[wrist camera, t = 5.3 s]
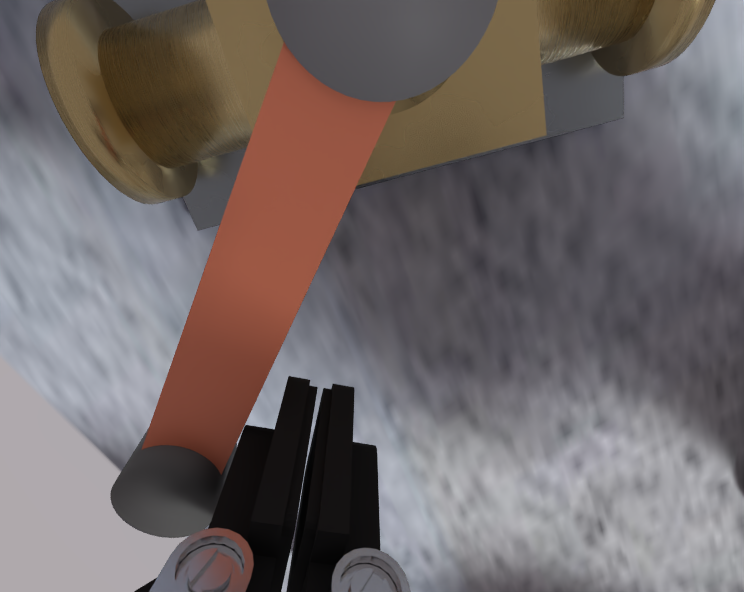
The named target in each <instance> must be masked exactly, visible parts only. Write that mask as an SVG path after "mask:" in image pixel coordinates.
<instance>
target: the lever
mask: <svg viewBox="0 0 744 592" xmlns="http://www.w3.org/2000/svg"><path fill="white" fill-rule="evenodd" d="M497 1H498V0H267V3H268V7H269V10H270V13H271V16H272V18H273V20H274V23H275V25H276V27H277V30H278V32H279V34H280V35H281V37H282V39H283V40H284V43H283V46H282V49H281V52H280V55H279V58H278V61H277V63H276V66H275V69H274V72H273V75H272V78H271V81H270V83H269V86H268V89H267V92H266V95H265V98H264V101H263V103H262V106H261V109H260V112H259V115H258V118H257V121H256V123H255V126H254V129H253V132H252V135H251V138H250V141H249V143H248V146H247V149H246V152H245V155H244V158H243V161H242V163H241V166H240V169H239V172H238V175H237V178H236V181H235V183H234V186H233V189H232V192H231V195H230V198H229V201H228V203H227V206H226V209H225V212H224V215H223V218H222V221H221V224H220V226H219V229H218V232H217V235H216V238H215V241H214V244H213V246H212V249H211V252H210V255H209V258H208V261H207V264H206V266H205V269H204V272H203V275H202V278H201V281H200V284H199V286H198V289H197V292H196V295H195V298H194V301H193V304H192V306H191V309H190V312H189V315H188V318H187V321H186V324H185V326H184V329H183V332H182V335H181V338H180V341H179V344H178V346H177V349H176V352H175V355H174V358H173V361H172V364H171V366H170V369H169V372H168V375H167V378H166V381H165V384H164V386H163V389H162V392H161V395H160V398H159V401H158V404H157V407H156V409H155V412H154V415H153V418H152V421H151V424H150V427H149V428H148V430H147V432H146V433H145V435H144V436H143V438H142V440H141V441H140V443H139V444H138V446H137V448H136V449H135V451H134V452H133V454H132V456H131V457H130V459H129V461H128V462H127V464H126V465H125V467H124V469H123V470H122V472H121V473H120V475H119V477H118V478H117V480H116V482H115V484H114V485H113V487H112V490H111V502H112V505H113V508H114V509H115V511H116V513H117V514H118V515H119V516H120V517H121V518H122V519H123V520H124V521H125V522H126V523H128V524H129V525H130V526H132V527H134V528H135V529H137V530H139V531H142V532H144V533H147V534H150V535H155V536H159V537H169V538H176V537H177V538H178V537H185V536H190V535H192V534H194V533H197V532H199V531H201V530H203V529H205V528H206V527H207V526H208V525H209V524H210V523H211V520H212V517H213V514H214V511H215V508H216V506H217V503H218V500H219V497H220V494H221V491H222V489H223V486H224V483H225V480H226V477H227V474H228V472H229V469H230V466H231V463H232V460H233V458H234V455H235V452H236V449H237V443H236V442H237V440H238V438H239V436H240V434H241V432H242V429H243V427H244V425H245V423H246V421H247V419H248V417H249V414H250V412H251V410H252V408H253V406H254V404H255V402H256V400H257V397H258V395H259V393H260V391H261V389H262V387H263V385H264V382H265V380H266V378H267V376H268V374H269V372H270V370H271V367H272V365H273V363H274V361H275V359H276V357H277V355H278V352H279V350H280V348H281V346H282V344H283V342H284V340H285V337H286V335H287V333H288V331H289V329H290V327H291V325H292V323H293V320H294V318H295V316H296V314H297V312H298V310H299V308H300V305H301V303H302V301H303V299H304V297H305V295H306V293H307V290H308V288H309V286H310V284H311V282H312V280H313V278H314V275H315V273H316V271H317V269H318V267H319V265H320V263H321V260H322V258H323V256H324V254H325V252H326V250H327V248H328V246H329V243H330V241H331V239H332V237H333V235H334V233H335V231H336V228H337V226H338V224H339V222H340V220H341V218H342V216H343V213H344V211H345V209H346V207H347V205H348V203H349V201H350V198H351V196H352V194H353V192H354V190H355V188H356V186H357V183H358V181H359V179H360V177H361V175H362V173H363V171H364V169H365V166H366V164H367V162H368V160H369V158H370V156H371V154H372V151H373V149H374V147H375V145H376V143H377V141H378V139H379V136H380V134H381V132H382V130H383V128H384V126H385V124H386V121H387V119H388V117H389V115H390V113H391V111H392V109H393V107H394V104H395V102H396V101H398V100H404V99H408V98H411V97H414V96H418V95H420V94H422V93H424V92H426V91H429V90H431V89H432V88H434V87H436V86H437V85H439V84H440V83H442V82H444V81H445V80H446V79H447V78H448V77H450V76H451V75H452V74H453V73H455V72H456V71H457V70H458V69H459V68H460V67H461V66H462V64H463V63H464V62H465V61H466V60H467V59H468V58H469V56H470V55H471V54H472V52H473V51H474V50H475V48H476V47H477V46H478V44H479V42H480V40H481V39H482V37H483V35H484V34H485V32H486V30H487V28H488V25H489V23H490V21H491V19H492V16H493V14H494V11H495V8H496V5H497Z"/></svg>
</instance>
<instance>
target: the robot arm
mask: <svg viewBox="0 0 744 592" xmlns="http://www.w3.org/2000/svg"><path fill="white" fill-rule="evenodd" d="M309 384H310V380H308V379H302V378H296V377H291V376H289V377H288V381H287V385H286V388H285V392H284V396H283V400H282V404H281V407H280V411H279V415H278V419H277V423H276V426H275V430H274V429H268V428H262V427H256V426H249V425H246V426H245V427H244V430H243V432H242V435H241V438H240V441H239V443H238V446H237V449H236V452H235V455H234V458H233V460H232V463H231V466H230V469H229V472H228V474H227V477H226V480H225V483H224V486H223V489H222V491H221V494H220V497H219V500H218V503H217V506H216V508H215V511H214V514H213V517H212V520H211V523H210V525H209V528H208V529H204V530H201V531H199V532H197V533H194V534H192V535H190V536H189V537H187V538H186V539H185V540H184V541H183V542H181V543H180V544H179V545H178V546H177V547H176V549H175V550H174V551H173V552H172V554H171V555H170V557H169V559H168V560H167V562H166V564H165V565H164V567H163V569H162V570H161V572H160V574H159V576H158V577H157V578H156V579H154V580H153V581H151V582H149V583H148V584H146V585H144V586H143V587H141V588H139V589H138V590H136V591H135V592H281V589H282V585H283V580H284V576H285V571H286V567H287V562H288V558H289V553H290V549H291V544H292V540H293V535H294V530H295V525H296V520H297V514H298V508H299V502H300V508H299V514H298V521H297V527H296V534H295V540H294V547H293V553H292V560H291V566H290V573H289V579H288V586H287V592H411V591H410V587H409V583H408V581H407V578H406V575H405V573H404V571H403V570H402V568H401V567H400V566H399V564H398V563H397V562H396V561H395V560H394V559H393V558H392V557H390V556H389V555H388V554H386V553H384V552H382V551H380V526H379V495H378V465H377V448H376V446H375V445H368V444H362V443H356V442H353V417H354V387H349V386H343V385H337V384H333V385H332V389H326V388H324V389H323V393H322V397H321V402H320V406H319V411H318V415H317V420H316V424H315V429H314V433H313V438H312V443H311V447H310V452H309V456H308V461H307V465H306V470H305V464H306V457H307V451H308V445H309V438H310V432H311V426H312V419H313V413H314V407H315V400H316V394H317V387H314V386H309ZM304 470H305V476H304ZM303 476H304V482H303ZM302 483H303V489H302ZM301 489H302V495H301ZM300 495H301V501H300Z"/></svg>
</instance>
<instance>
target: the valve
mask: <svg viewBox="0 0 744 592" xmlns="http://www.w3.org/2000/svg"><path fill="white" fill-rule="evenodd" d="M714 2H715V0H498V1H497V5H496V8H495V11H494V14H493V16H492V19H491V21H490V23H489V25H488V28H487V30H486V32H485V34H484V35H483V37H482V39H481V40H480V42H479V44H478V46H477V47H476V48H475V50H474V51H473V52H472V54H471V55H470V56H469V58H468V59H467V60H466V61H465V62H464V63H463V64H462V66H461V67H460V68H459V69H458V70H457V71H456V72H455V73H453V74H452V75H451V76H450V77H448V78H447V79H446V80H445V81H444V82H442V83H440V84H439V85H437V86H436V87H434V88H432V89H431V90H429V91H426V92H424V93H422V94H420V95H418V96H414V97H411V98H408V99H404V100H398V101H396V102H395V104H394V107H393V109H392V111H391V113H390V115H389V117H388V119H387V121H386V124H385V126H384V128H383V130H382V132H381V134H380V136H379V139H378V141H377V143H376V145H375V147H374V149H373V151H372V154H371V156H370V158H369V160H368V162H367V164H366V166H365V169H364V171H363V173H362V175H361V177H360V179H359V181H358V183H357V186H356V188H355V189H357V188H361V187H365V186H368V185H372V184H376V183H380V182H383V181H387V180H391V179H395V178H399V177H402V176H406V175H410V174H414V173H418V172H421V171H425V170H429V169H433V168H436V167H440V166H444V165H448V164H452V163H455V162H459V161H463V160H467V159H471V158H474V157H478V156H482V155H486V154H489V153H493V152H497V151H501V150H505V149H508V148H512V147H516V146H520V145H524V144H527V143H531V142H535V141H539V140H542V139H546V138H550V137H554V136H558V135H561V134H565V133H569V132H573V131H576V130H580V129H584V128H588V127H592V126H595V125H599V124H603V123H607V122H611V121H614V120H618V119H622V118H624V96H623V76H627V75H631V74H635V73H638V72H642V71H646V70H649V69H653V68H657V67H660V66H663V65H665V64H668V63H669V62H671V61H672V60H674V59H676V58H677V57H678V56H679V55H680V54H681V53H682V52H684V51H685V50H686V48H687V47H688V46H689V45H690V44H691V43H692V41H693V40H694V39H695V37H696V36H697V34H698V33H699V31H700V30H701V28H702V27H703V25H704V23H705V21H706V19H707V17H708V16H709V14H710V11H711V9H712V7H713V5H714ZM283 43H284V40H283V39H282V37H281V35H280V34H279V32H278V30H277V27H276V25H275V23H274V20H273V18H272V16H271V13H270V10H269V7H268V3H267V0H55V1H52V2H50V3H48V4H46V5H45V7H44V8H43V9H42V10H41V12H40V14H39V17H38V21H37V26H36V44H37V52H38V57H39V62H40V66H41V70H42V73H43V76H44V79H45V82H46V85H47V88H48V90H49V93H50V95H51V98H52V100H53V102H54V104H55V107H56V109H57V111H58V113H59V115H60V117H61V119H62V120H63V122H64V124H65V126H66V127H67V129H68V131H69V133H70V134H71V136H72V137H73V139H74V140H75V142H76V143H77V145H78V146H79V148H80V149H81V151H82V152H83V153H84V155H85V156H86V157H87V159H88V160H89V161H90V162H91V164H92V165H93V166H94V167H95V168H96V169H97V170H98V172H99V173H100V174H101V175H102V176H103V177H104V178H105V179H106V180H107V181H108V182H109V183H111V184H112V185H113V186H114V187H115V188H117V189H118V190H119V191H120V192H122V193H123V194H125V195H126V196H128V197H130V198H132V199H133V200H135V201H138V202H141V203H144V204H158V203H162V202H166V201H169V200H173V199H177V198H180V197H183V199H184V201H185V203H186V206H187V208H188V210H189V212H190V215H191V217H192V219H193V221H194V224H195V226H196V228H197V230H202V229H206V228H209V227H213V226H217V225H220V224H221V221H222V218H223V215H224V212H225V209H226V206H227V203H228V201H229V198H230V195H231V192H232V189H233V186H234V183H235V181H236V178H237V175H238V172H239V169H240V166H241V163H242V161H243V158H244V155H245V152H246V149H247V146H248V143H249V141H250V138H251V135H252V132H253V129H254V126H255V123H256V121H257V118H258V115H259V112H260V109H261V106H262V103H263V101H264V98H265V95H266V92H267V89H268V86H269V83H270V81H271V78H272V75H273V72H274V69H275V66H276V63H277V61H278V58H279V55H280V52H281V49H282V46H283Z"/></svg>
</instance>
